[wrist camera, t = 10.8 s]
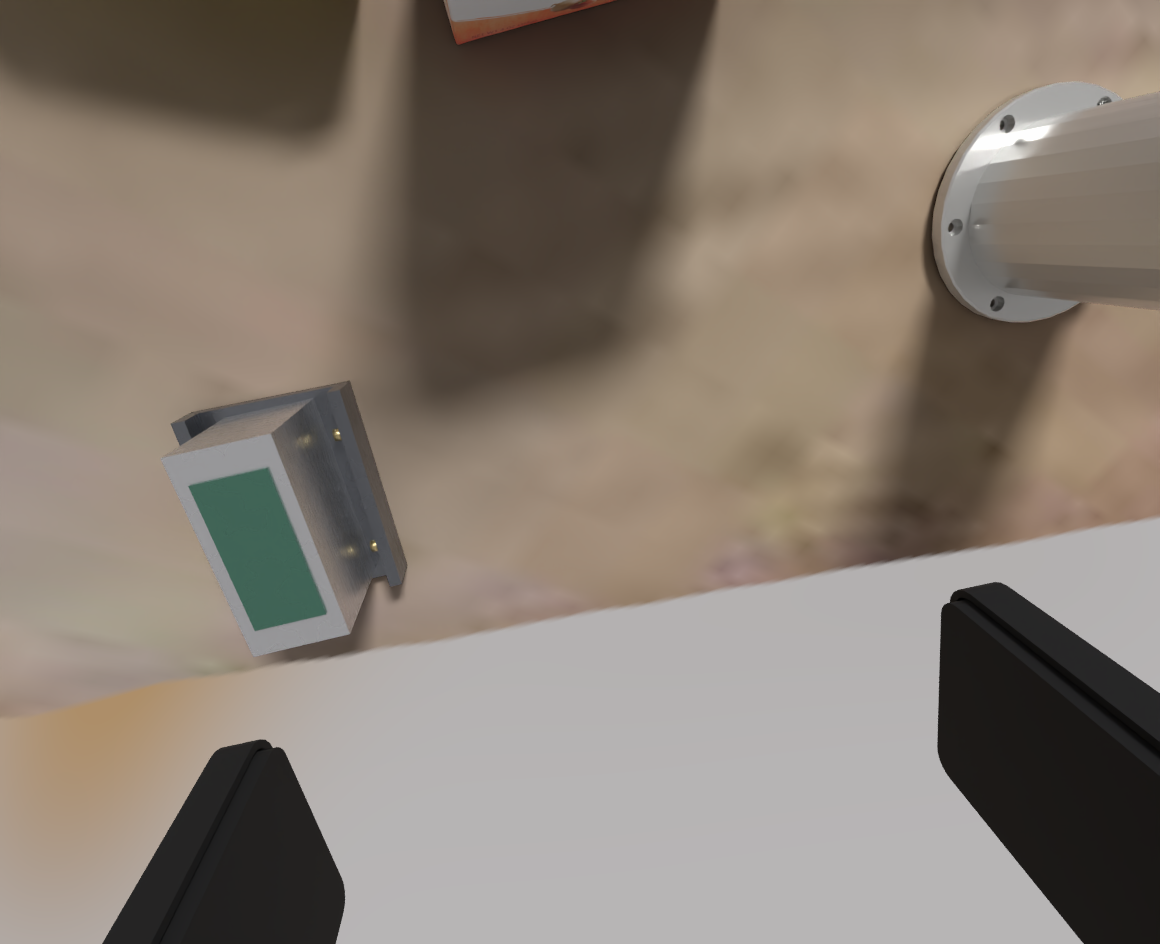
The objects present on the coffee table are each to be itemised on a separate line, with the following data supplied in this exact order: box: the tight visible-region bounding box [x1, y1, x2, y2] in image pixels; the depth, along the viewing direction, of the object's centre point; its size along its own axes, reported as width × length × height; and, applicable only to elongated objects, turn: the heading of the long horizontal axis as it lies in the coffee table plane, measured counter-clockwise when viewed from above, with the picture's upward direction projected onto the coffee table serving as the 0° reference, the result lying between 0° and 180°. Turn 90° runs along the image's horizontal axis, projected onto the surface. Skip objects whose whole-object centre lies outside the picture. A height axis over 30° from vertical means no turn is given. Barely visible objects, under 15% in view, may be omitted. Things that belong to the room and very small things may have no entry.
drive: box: [160, 398, 376, 657], centre depth 34 cm, size 5×11×7 cm, turn 12°
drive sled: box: [171, 381, 407, 586], centre depth 37 cm, size 9×12×2 cm
